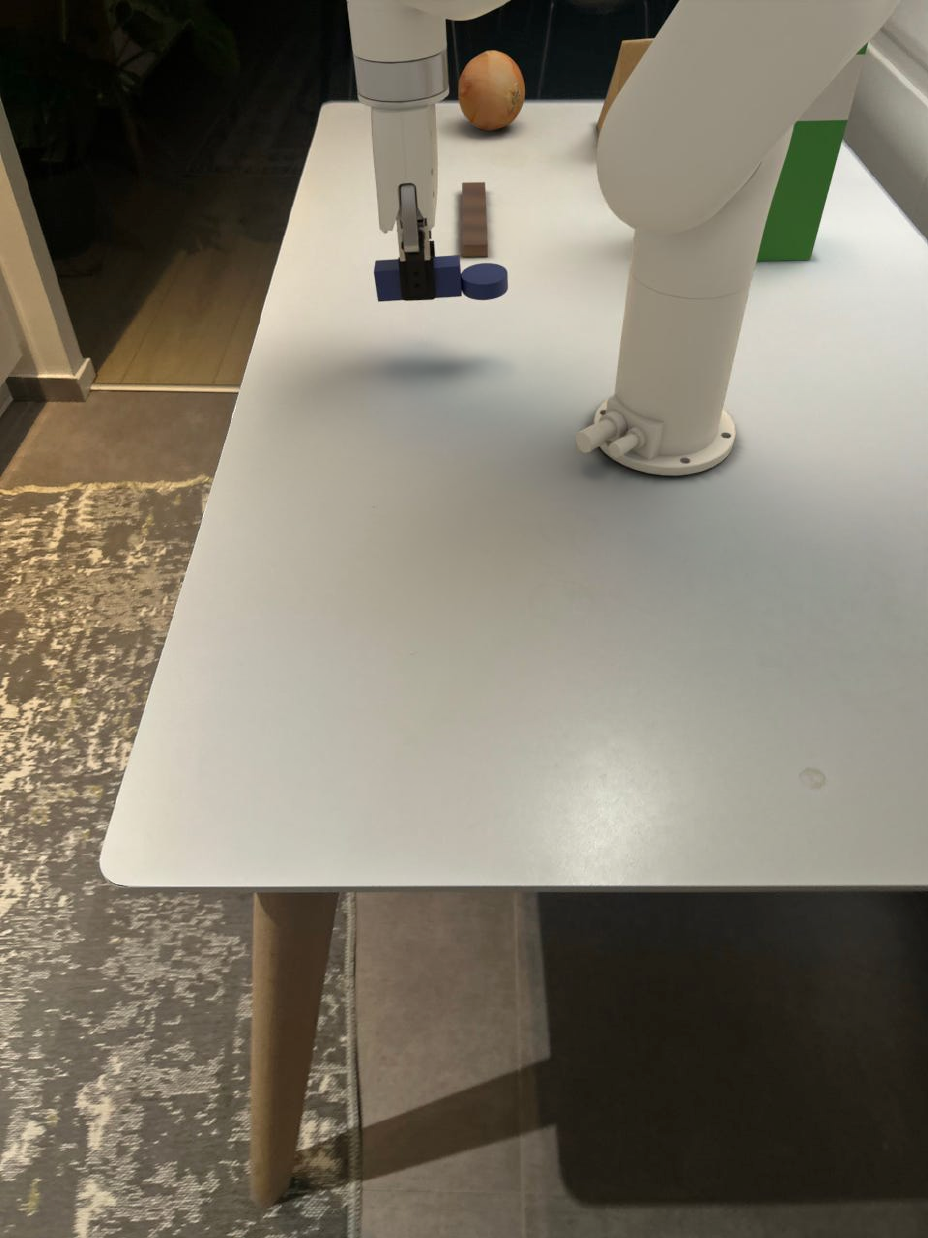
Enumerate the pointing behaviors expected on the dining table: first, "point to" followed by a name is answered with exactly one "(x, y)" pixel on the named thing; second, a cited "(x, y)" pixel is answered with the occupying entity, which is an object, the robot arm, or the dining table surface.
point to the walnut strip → (474, 220)
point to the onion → (491, 90)
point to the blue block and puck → (446, 279)
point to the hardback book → (809, 169)
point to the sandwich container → (623, 71)
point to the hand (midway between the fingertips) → (419, 289)
